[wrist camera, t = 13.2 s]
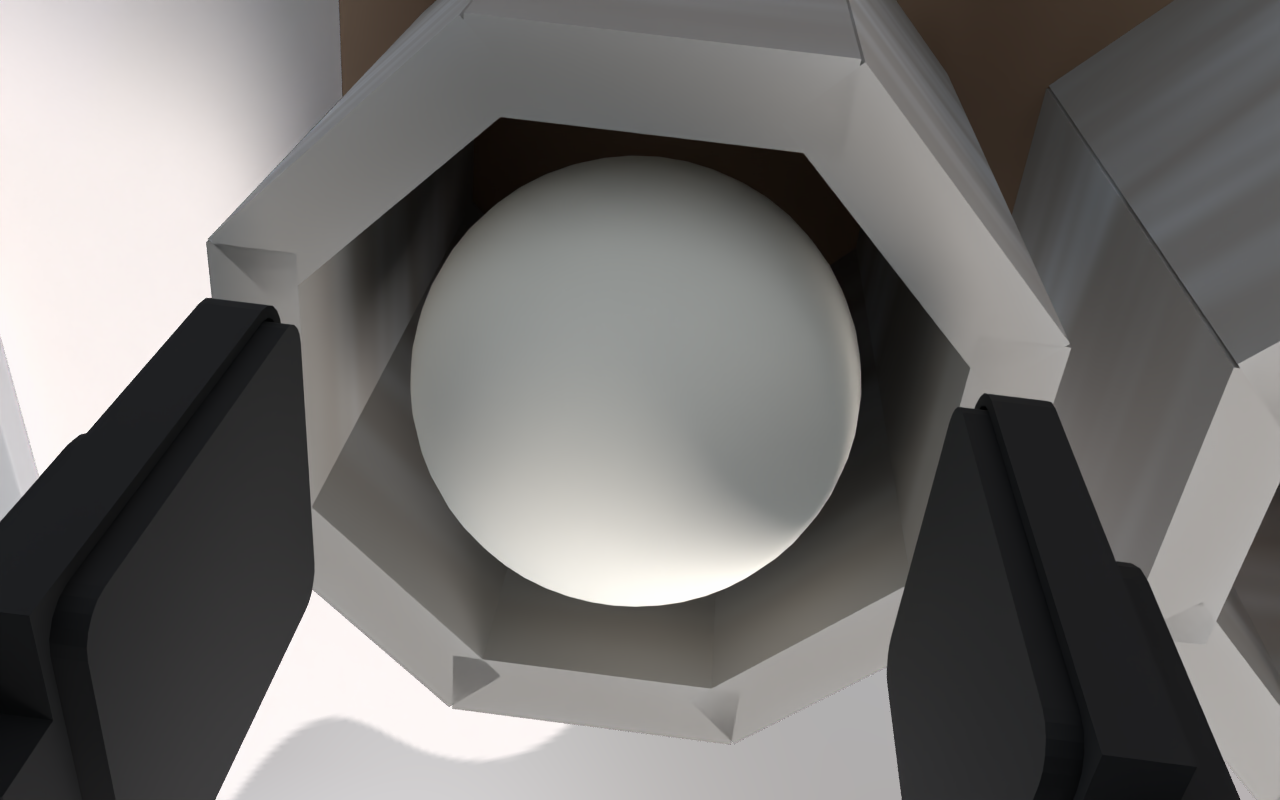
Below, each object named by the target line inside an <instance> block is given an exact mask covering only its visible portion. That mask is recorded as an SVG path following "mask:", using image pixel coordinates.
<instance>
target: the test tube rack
mask: <svg viewBox="0 0 1280 800" xmlns="http://www.w3.org/2000/svg"><path fill="white" fill-rule="evenodd" d="M38 478H39V474H38V471H37V467H36V464H35V460H34V456H33V453H32V449H31V445H30V442H29V438H28V434H27V431H26V427H25V424H24V420H23V416H22V413H21V409H20V405H19V402H18V398H17V395H16V391H15V387H14V384H13V380H12V376H11V373H10V369H9V365H8V362H7V358H6V355H5V351H4V347H3V344H2V340H1V336H0V521H1V520H2V519H3V518H4V517H5V516H6V514H7V513H8V512H9V511H10V510H11V509H12V508H13V506H14V505H15V504H16V503H17V502H18V501H19V500H20V498H21V497H22V496H23V495H24V494H25V493H26V492H27V491H28V489H29V488H30V487H31V486H32V485H33V484H34V483H35V481H36V480H37V479H38Z"/></svg>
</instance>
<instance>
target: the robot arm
mask: <svg viewBox="0 0 1280 800" xmlns="http://www.w3.org/2000/svg"><path fill="white" fill-rule="evenodd" d="M314 573H315V561H314V545H313V529H312V513H311V497H310V481H309V465H308V449H307V433H306V417H305V401H304V385H303V369H302V353H301V340H300V334H299V331H298V328H297V327H296V326H295V325H291V324H283V323H281V320H280V317H279V314H278V311H277V310H276V309H275V308H274V306H272V305H264V304H255V303H247V302H239V301H231V300H223V299H215V298H206V299H204V300H203V301H202V302H200V303H199V304H198V306H197V307H196V308H195V309H194V310H193V311H192V312H191V314H190V315H189V316H188V317H187V318H186V319H185V321H184V322H183V323H182V324H181V325H180V326H179V327H178V329H177V330H176V331H175V332H174V333H173V334H172V335H171V337H170V338H169V339H168V340H167V341H166V342H165V344H164V345H163V346H162V347H161V348H160V349H159V350H158V352H157V353H156V354H155V355H154V356H153V357H152V359H151V360H150V361H149V362H148V363H147V364H146V365H145V367H144V368H143V369H142V370H141V371H140V372H139V374H138V375H137V376H136V377H135V378H134V379H133V380H132V382H131V383H130V384H129V385H128V386H127V387H126V388H125V390H124V391H123V392H122V393H121V394H120V395H119V397H118V398H117V399H116V400H115V401H114V402H113V403H112V405H111V406H110V407H109V408H108V409H107V410H106V412H105V413H104V414H103V415H102V416H101V417H100V418H99V420H98V421H97V422H96V423H95V424H94V425H93V426H92V428H91V429H90V430H89V431H88V432H87V433H86V434H81V435H79V436H78V437H77V438H75V439H74V440H73V441H72V442H71V443H69V444H68V445H67V446H66V447H65V448H64V450H63V451H62V452H61V453H60V454H59V455H58V456H57V458H56V459H55V460H54V461H53V462H52V463H51V464H50V465H49V467H48V468H47V469H46V470H45V471H44V472H43V473H42V475H41V476H40V477H39V478H38V479H37V480H36V481H35V483H34V484H33V485H32V486H31V487H30V488H29V489H28V491H27V492H26V493H25V494H24V495H23V496H22V497H21V498H20V500H19V501H18V502H17V503H16V504H15V505H14V506H13V508H12V509H11V510H10V511H9V512H8V513H7V514H6V516H5V517H4V518H3V519H2V520H1V521H0V800H215V799H216V797H217V795H218V793H219V791H220V788H221V786H222V784H223V782H224V780H225V778H226V776H227V774H228V772H229V770H230V767H231V765H232V763H233V761H234V759H235V757H236V755H237V753H238V751H239V749H240V746H241V744H242V742H243V740H244V738H245V736H246V734H247V732H248V730H249V728H250V726H251V723H252V721H253V719H254V717H255V715H256V713H257V711H258V709H259V707H260V705H261V702H262V700H263V698H264V696H265V694H266V692H267V690H268V688H269V686H270V684H271V681H272V679H273V677H274V675H275V673H276V671H277V669H278V667H279V665H280V663H281V661H282V658H283V656H284V654H285V652H286V650H287V648H288V646H289V644H290V642H291V640H292V637H293V635H294V633H295V631H296V629H297V627H298V625H299V623H300V621H301V619H302V616H303V614H304V612H305V610H306V608H307V605H308V603H309V600H310V596H311V593H312V588H313V582H314ZM887 683H888V691H889V700H890V708H891V716H892V723H893V731H894V740H895V748H896V755H897V764H898V772H899V780H900V788H901V796H902V800H1240V798H1239V795H1238V793H1237V791H1236V788H1235V786H1234V784H1233V782H1232V779H1231V776H1230V774H1229V772H1228V769H1227V767H1226V765H1225V762H1224V760H1223V757H1222V755H1221V753H1220V750H1219V748H1218V746H1217V743H1216V741H1215V738H1214V736H1213V734H1212V731H1211V729H1210V727H1209V724H1208V722H1207V719H1206V717H1205V715H1204V712H1203V710H1202V708H1201V705H1200V703H1199V700H1198V698H1197V696H1196V693H1195V691H1194V689H1193V686H1192V684H1191V681H1190V679H1189V677H1188V674H1187V672H1186V670H1185V667H1184V665H1183V662H1182V660H1181V658H1180V655H1179V653H1178V651H1177V648H1176V646H1175V644H1174V641H1173V639H1172V636H1171V634H1170V632H1169V629H1168V627H1167V625H1166V622H1165V620H1164V617H1163V615H1162V613H1161V610H1160V608H1159V606H1158V603H1157V601H1156V598H1155V596H1154V594H1153V591H1152V589H1151V587H1150V584H1149V582H1148V580H1147V578H1146V577H1145V575H1144V573H1143V572H1142V570H1141V569H1140V568H1139V567H1137V566H1135V565H1134V564H1132V563H1127V562H1119V561H1116V560H1115V558H1114V555H1113V552H1112V550H1111V547H1110V545H1109V542H1108V540H1107V537H1106V535H1105V532H1104V530H1103V527H1102V525H1101V522H1100V520H1099V517H1098V515H1097V512H1096V509H1095V507H1094V504H1093V502H1092V499H1091V497H1090V494H1089V492H1088V489H1087V487H1086V484H1085V482H1084V479H1083V477H1082V474H1081V471H1080V469H1079V466H1078V464H1077V461H1076V459H1075V456H1074V454H1073V451H1072V449H1071V446H1070V444H1069V441H1068V439H1067V436H1066V433H1065V431H1064V428H1063V426H1062V423H1061V421H1060V418H1059V416H1058V413H1057V411H1056V408H1055V407H1054V405H1053V404H1052V402H1049V401H1044V400H1036V399H1028V398H1019V397H1011V396H1003V395H995V394H987V393H984V394H983V395H982V396H980V398H979V400H978V401H977V403H976V405H975V408H974V409H972V408H964V407H957V408H956V409H955V410H954V412H953V414H952V416H951V419H950V422H949V425H948V429H947V433H946V436H945V440H944V444H943V447H942V451H941V455H940V459H939V462H938V466H937V470H936V473H935V477H934V481H933V484H932V488H931V492H930V495H929V499H928V503H927V506H926V510H925V514H924V517H923V521H922V525H921V528H920V532H919V536H918V540H917V543H916V547H915V551H914V554H913V558H912V562H911V565H910V569H909V573H908V576H907V580H906V584H905V587H904V591H903V595H902V598H901V602H900V606H899V609H898V613H897V617H896V620H895V624H894V628H893V632H892V635H891V639H890V644H889V650H888V659H887Z"/></svg>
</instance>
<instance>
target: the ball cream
mask: <svg viewBox="0 0 1280 800" xmlns="http://www.w3.org/2000/svg"><path fill="white" fill-rule="evenodd" d="M410 391H411V403H412V414H413V419H414V423H415V427H416V431H417V435H418V440H419V444H420V448H421V452H422V455H423V457H424V460H425V462H426V465H427V467H428V470H429V472H430V475H431V477H432V479H433V480H434V482H435V484H436V486H437V488H438V489H439V491H440V493H441V495H442V496H443V498H444V500H445V502H446V503H447V505H448V507H449V509H450V510H451V511H452V513H453V514H454V515H455V517H456V518H457V519H458V521H459V522H460V523H461V524H462V526H463V527H464V528H465V529H466V530H467V531H468V532H469V533H470V534H471V535H472V536H473V537H474V538H475V539H476V540H477V541H478V542H479V543H480V544H481V545H482V546H483V547H484V548H485V549H486V550H487V551H488V552H489V553H490V554H492V555H493V556H494V557H495V558H497V559H498V560H499V561H500V562H502V563H503V564H504V565H505V566H507V567H508V568H510V569H512V570H513V571H515V572H516V573H518V574H519V575H521V576H523V577H524V578H526V579H528V580H530V581H532V582H534V583H536V584H538V585H540V586H542V587H544V588H547V589H549V590H552V591H555V592H558V593H560V594H563V595H566V596H569V597H573V598H577V599H581V600H585V601H589V602H593V603H600V604H607V605H613V606H633V607H638V606H658V605H666V604H673V603H679V602H685V601H688V600H692V599H696V598H700V597H704V596H707V595H710V594H712V593H715V592H717V591H720V590H723V589H725V588H728V587H730V586H732V585H733V584H735V583H737V582H739V581H741V580H743V579H745V578H747V577H749V576H750V575H752V574H753V573H755V572H756V571H758V570H759V569H761V568H762V567H764V566H765V565H767V564H768V563H770V562H771V561H773V560H774V559H776V558H777V557H778V556H779V555H780V554H781V553H783V552H784V551H785V550H786V549H787V548H788V547H789V546H791V545H792V544H793V543H794V542H795V541H796V539H797V538H798V537H799V536H800V535H801V534H802V533H803V532H804V530H805V529H806V528H807V527H808V526H809V525H810V523H811V522H812V521H813V520H814V519H815V517H816V516H817V515H818V514H819V512H820V511H821V509H822V508H823V506H824V505H825V503H826V502H827V500H828V499H829V497H830V496H831V494H832V492H833V490H834V487H835V485H836V483H837V481H838V479H839V477H840V475H841V473H842V471H843V468H844V466H845V464H846V462H847V460H848V457H849V453H850V450H851V447H852V443H853V440H854V437H855V432H856V427H857V421H858V414H859V407H860V400H861V363H860V353H859V347H858V341H857V335H856V329H855V326H854V323H853V319H852V316H851V313H850V310H849V307H848V304H847V301H846V299H845V296H844V293H843V291H842V289H841V287H840V285H839V283H838V281H837V279H836V277H835V275H834V273H833V271H832V269H831V267H830V265H829V264H828V262H827V261H826V259H825V258H824V257H823V255H822V254H821V252H820V251H819V249H818V248H817V247H816V245H815V244H814V243H813V241H812V240H811V239H810V238H809V236H808V235H807V234H806V233H805V232H804V231H803V230H802V229H801V228H800V226H799V225H798V224H797V223H796V222H795V221H794V220H793V219H792V218H791V217H790V216H789V215H788V214H787V213H786V212H784V211H783V210H782V209H781V208H779V207H778V206H777V205H776V204H775V203H773V202H772V201H771V200H770V199H768V198H767V197H765V196H764V195H762V194H761V193H759V192H757V191H756V190H754V189H752V188H751V187H749V186H748V185H746V184H744V183H742V182H740V181H738V180H736V179H734V178H731V177H729V176H727V175H725V174H722V173H720V172H718V171H716V170H713V169H710V168H707V167H704V166H701V165H697V164H694V163H691V162H687V161H682V160H676V159H670V158H664V157H655V156H620V157H608V158H601V159H597V160H592V161H587V162H582V163H578V164H574V165H570V166H568V167H565V168H562V169H559V170H556V171H553V172H551V173H548V174H545V175H543V176H541V177H539V178H537V179H535V180H533V181H531V182H529V183H527V184H525V185H523V186H522V187H520V188H518V189H517V190H515V191H514V192H513V193H511V194H510V195H508V196H507V197H505V198H504V199H502V200H501V201H500V202H498V203H497V204H496V205H495V206H493V207H492V208H491V209H490V210H489V211H488V212H487V213H486V214H485V215H484V216H482V217H481V218H480V219H479V220H478V221H477V222H476V223H475V224H474V225H473V226H472V227H471V228H470V229H469V230H468V231H467V232H466V233H465V235H464V236H463V237H462V238H461V240H460V241H459V242H458V243H457V245H456V246H455V247H454V248H453V250H452V251H451V253H450V254H449V256H448V258H447V259H446V261H445V263H444V264H443V266H442V268H441V270H440V271H439V273H438V275H437V276H436V278H435V280H434V282H433V283H432V285H431V288H430V290H429V293H428V295H427V298H426V300H425V303H424V305H423V308H422V311H421V315H420V318H419V322H418V326H417V330H416V335H415V339H414V344H413V348H412V361H411V381H410Z"/></svg>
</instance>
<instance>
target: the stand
mask: <svg viewBox="0 0 1280 800" xmlns="http://www.w3.org/2000/svg"><path fill="white" fill-rule="evenodd" d="M339 12H340V39H341V67H342V94H343V97H342V98H341V99H340V100H339V101H338V103H337V104H336V105H335V106H334V107H333V108H332V109H331V110H330V111H329V112H328V113H327V114H326V115H325V116H324V117H323V118H322V119H321V120H320V121H319V123H318V124H317V125H316V126H315V127H314V128H313V129H312V130H311V131H310V132H309V133H308V134H307V135H306V136H305V137H304V138H303V139H302V140H301V142H300V143H299V144H298V145H297V146H296V147H295V148H294V149H293V150H292V151H291V152H290V153H289V154H288V155H287V156H286V157H285V158H284V159H283V160H282V162H281V163H280V164H279V165H278V166H277V167H276V168H275V169H274V170H273V171H272V172H271V173H270V174H269V175H268V176H267V177H266V178H265V179H264V180H263V182H262V183H261V184H260V185H259V186H258V187H257V188H256V189H255V190H254V191H253V192H252V193H251V194H250V195H249V196H248V197H247V198H246V199H245V200H244V202H243V203H242V204H241V205H240V206H239V207H238V208H237V209H236V210H235V211H234V212H233V213H232V214H231V215H230V216H229V217H228V218H227V219H226V221H225V222H224V223H223V224H222V225H221V226H220V227H219V228H218V229H217V230H216V231H215V232H214V233H213V234H212V235H211V236H210V237H209V238H208V239H209V240H208V241H207V242H206V246H207V255H208V265H209V275H210V284H211V294H212V298H215V299H223V300H231V301H239V302H247V303H255V304H264V305H272V306H274V308H275V309H276V310H277V311H278V314H279V317H280V320H281V323H283V324H291V325H295V326H296V327H297V328H298V331H299V334H300V340H301V353H302V369H303V385H304V401H305V417H306V433H307V449H308V465H309V481H310V497H311V513H312V529H313V545H314V561H315V573H314V582H313V588H312V590H314V591H315V592H316V593H317V594H318V595H319V596H321V597H322V598H323V599H324V600H325V601H326V602H328V603H329V604H330V605H331V606H332V607H333V608H335V609H336V610H337V611H338V612H339V613H340V614H342V615H343V616H344V617H345V618H346V619H347V620H349V621H350V622H351V623H352V624H353V625H354V626H356V627H357V628H358V629H359V630H360V631H361V632H363V633H364V634H365V635H366V636H367V637H368V638H369V639H371V640H372V641H373V642H374V643H375V644H376V645H378V646H379V647H380V648H381V649H382V650H383V651H385V652H386V653H387V654H388V655H389V656H390V657H392V658H393V659H394V660H395V661H396V662H397V663H399V664H400V665H401V666H402V667H403V668H404V669H406V670H407V671H408V672H409V673H410V674H411V675H413V676H414V677H415V678H416V679H417V680H418V681H420V682H421V683H422V684H423V685H424V686H425V687H427V688H428V689H429V690H430V691H431V692H432V693H434V694H435V695H436V696H437V697H438V698H439V699H440V700H442V701H443V702H444V703H445V704H446V705H447V706H449V707H450V706H451V705H452V709H459V710H466V711H474V712H482V713H490V714H497V715H505V716H513V717H520V718H528V719H536V720H543V721H551V722H559V723H566V724H574V725H583V726H590V727H598V728H605V729H613V730H620V731H628V732H636V733H644V734H651V735H660V736H667V737H675V738H682V739H690V740H698V741H706V742H713V743H721V744H728V745H731V741H732V742H733V743H734V744H735V743H737V742H739V741H741V740H743V739H745V738H747V737H749V736H751V735H753V734H755V733H757V732H759V731H761V730H763V729H765V728H767V727H769V726H771V725H773V724H775V723H777V722H779V721H781V720H783V719H785V718H787V717H789V716H791V715H793V714H795V713H797V712H798V711H801V710H803V709H805V708H807V707H809V706H811V705H813V704H815V703H817V702H819V701H821V700H823V699H825V698H827V697H829V696H831V695H833V694H835V693H837V692H839V691H841V690H843V689H844V688H847V687H848V686H851V685H853V684H855V683H856V682H859V681H860V680H862V679H864V678H867V677H868V676H870V675H872V674H874V673H876V672H878V671H880V670H882V669H884V668H886V667H887V659H888V650H889V644H890V639H891V635H892V632H893V628H894V624H895V620H896V617H897V613H898V609H899V606H900V602H901V598H902V595H903V591H904V587H905V584H906V580H907V576H908V573H909V569H910V565H911V562H912V558H913V554H914V551H915V547H916V543H917V540H918V536H919V532H920V528H921V525H922V521H923V517H924V514H925V510H926V506H927V503H928V499H929V495H930V492H931V488H932V484H933V481H934V477H935V473H936V470H937V466H938V462H939V459H940V455H941V451H942V447H943V444H944V440H945V436H946V433H947V429H948V425H949V422H950V419H951V416H952V414H953V412H954V410H955V409H956V408H957V407H964V408H972V409H974V408H975V405H976V403H977V401H978V400H979V398H980V396H982V395H983V394H984V393H987V394H995V395H1003V396H1011V397H1019V398H1028V399H1036V400H1044V401H1049V402H1052V404H1053V405H1054V407H1055V408H1056V411H1057V413H1058V416H1059V418H1060V421H1061V423H1062V426H1063V428H1064V431H1065V433H1066V436H1067V439H1068V441H1069V444H1070V446H1071V449H1072V451H1073V454H1074V456H1075V459H1076V461H1077V464H1078V466H1079V469H1080V471H1081V474H1082V477H1083V479H1084V482H1085V484H1086V487H1087V489H1088V492H1089V494H1090V497H1091V499H1092V502H1093V504H1094V507H1095V509H1096V512H1097V515H1098V517H1099V520H1100V522H1101V525H1102V527H1103V530H1104V532H1105V535H1106V537H1107V540H1108V542H1109V545H1110V547H1111V550H1112V552H1113V555H1114V558H1115V560H1116V561H1119V562H1127V563H1132V564H1134V565H1135V566H1137V567H1139V568H1140V569H1141V570H1142V572H1143V573H1144V575H1145V577H1146V578H1147V580H1148V582H1149V584H1150V587H1151V589H1152V591H1153V594H1154V596H1155V598H1156V601H1157V603H1158V606H1159V608H1160V610H1161V613H1162V615H1163V617H1164V620H1165V622H1166V625H1167V627H1168V629H1169V632H1170V634H1171V636H1172V639H1173V641H1174V644H1175V646H1176V648H1177V651H1178V653H1179V655H1180V658H1181V660H1182V662H1183V665H1184V667H1185V670H1186V672H1187V674H1188V677H1189V679H1190V681H1191V684H1192V686H1193V689H1194V691H1195V693H1196V696H1197V698H1198V700H1199V703H1200V705H1201V708H1202V710H1203V712H1204V715H1205V717H1206V719H1207V722H1208V724H1209V727H1210V729H1211V731H1212V734H1213V736H1214V738H1215V741H1216V743H1217V746H1218V748H1219V750H1220V753H1221V755H1222V757H1223V760H1224V761H1225V762H1226V764H1227V765H1228V766H1229V767H1230V769H1231V770H1232V771H1233V772H1234V773H1235V775H1236V776H1237V777H1238V779H1239V780H1240V781H1241V782H1242V783H1243V785H1244V786H1245V787H1246V788H1247V790H1248V791H1249V792H1250V793H1251V795H1252V796H1253V797H1254V798H1255V799H1256V800H1280V0H339ZM620 156H655V157H664V158H670V159H676V160H682V161H687V162H691V163H694V164H697V165H701V166H704V167H707V168H710V169H713V170H716V171H718V172H720V173H722V174H725V175H727V176H729V177H731V178H734V179H736V180H738V181H740V182H742V183H744V184H746V185H748V186H749V187H751V188H752V189H754V190H756V191H757V192H759V193H761V194H762V195H764V196H765V197H767V198H768V199H770V200H771V201H772V202H773V203H775V204H776V205H777V206H778V207H779V208H781V209H782V210H783V211H784V212H786V213H787V214H788V215H789V216H790V217H791V218H792V219H793V220H794V221H795V222H796V223H797V224H798V225H799V226H800V228H801V229H802V230H803V231H804V232H805V233H806V234H807V235H808V236H809V238H810V239H811V240H812V241H813V243H814V244H815V245H816V247H817V248H818V249H819V251H820V252H821V254H822V255H823V257H824V258H825V259H826V261H827V262H828V264H829V265H830V267H831V269H832V271H833V273H834V275H835V277H836V279H837V281H838V283H839V285H840V287H841V289H842V291H843V293H844V296H845V299H846V301H847V304H848V307H849V310H850V313H851V316H852V319H853V323H854V326H855V329H856V335H857V341H858V347H859V353H860V363H861V400H860V407H859V414H858V421H857V427H856V432H855V437H854V440H853V443H852V447H851V450H850V453H849V457H848V460H847V462H846V464H845V466H844V468H843V471H842V473H841V475H840V477H839V479H838V481H837V483H836V485H835V487H834V490H833V492H832V494H831V496H830V497H829V499H828V500H827V502H826V503H825V505H824V506H823V508H822V509H821V511H820V512H819V514H818V515H817V516H816V517H815V519H814V520H813V521H812V522H811V523H810V525H809V526H808V527H807V528H806V529H805V530H804V532H803V533H802V534H801V535H800V536H799V537H798V538H797V539H796V541H795V542H794V543H793V544H792V545H791V546H789V547H788V548H787V549H786V550H785V551H784V552H783V553H781V554H780V555H779V556H778V557H777V558H776V559H774V560H773V561H771V562H770V563H768V564H767V565H765V566H764V567H762V568H761V569H759V570H758V571H756V572H755V573H753V574H752V575H750V576H749V577H747V578H745V579H743V580H741V581H739V582H737V583H735V584H733V585H732V586H730V587H728V588H725V589H723V590H720V591H717V592H715V593H712V594H710V595H707V596H704V597H700V598H696V599H692V600H688V601H685V602H679V603H673V604H666V605H658V606H638V607H633V606H613V605H607V604H600V603H593V602H589V601H585V600H581V599H577V598H573V597H569V596H566V595H563V594H560V593H558V592H555V591H552V590H549V589H547V588H544V587H542V586H540V585H538V584H536V583H534V582H532V581H530V580H528V579H526V578H524V577H523V576H521V575H519V574H518V573H516V572H515V571H513V570H512V569H510V568H508V567H507V566H505V565H504V564H503V563H502V562H500V561H499V560H498V559H497V558H495V557H494V556H493V555H492V554H490V553H489V552H488V551H487V550H486V549H485V548H484V547H483V546H482V545H481V544H480V543H479V542H478V541H477V540H476V539H475V538H474V537H473V536H472V535H471V534H470V533H469V532H468V531H467V530H466V529H465V528H464V527H463V526H462V524H461V523H460V522H459V521H458V519H457V518H456V517H455V515H454V514H453V513H452V511H451V510H450V509H449V507H448V505H447V503H446V502H445V500H444V498H443V496H442V495H441V493H440V491H439V489H438V488H437V486H436V484H435V482H434V480H433V479H432V477H431V475H430V472H429V470H428V467H427V465H426V462H425V460H424V457H423V455H422V452H421V448H420V444H419V440H418V435H417V431H416V427H415V423H414V419H413V414H412V403H411V391H410V381H411V361H412V348H413V344H414V339H415V335H416V330H417V326H418V322H419V318H420V315H421V311H422V308H423V305H424V303H425V300H426V298H427V295H428V293H429V290H430V288H431V285H432V283H433V282H434V280H435V278H436V276H437V275H438V273H439V271H440V270H441V268H442V266H443V264H444V263H445V261H446V259H447V258H448V256H449V254H450V253H451V251H452V250H453V248H454V247H455V246H456V245H457V243H458V242H459V241H460V240H461V238H462V237H463V236H464V235H465V233H466V232H467V231H468V230H469V229H470V228H471V227H472V226H473V225H474V224H475V223H476V222H477V221H478V220H479V219H480V218H481V217H482V216H484V215H485V214H486V213H487V212H488V211H489V210H490V209H491V208H492V207H493V206H495V205H496V204H497V203H498V202H500V201H501V200H502V199H504V198H505V197H507V196H508V195H510V194H511V193H513V192H514V191H515V190H517V189H518V188H520V187H522V186H523V185H525V184H527V183H529V182H531V181H533V180H535V179H537V178H539V177H541V176H543V175H545V174H548V173H551V172H553V171H556V170H559V169H562V168H565V167H568V166H570V165H574V164H578V163H582V162H587V161H592V160H597V159H601V158H608V157H620Z"/></svg>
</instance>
